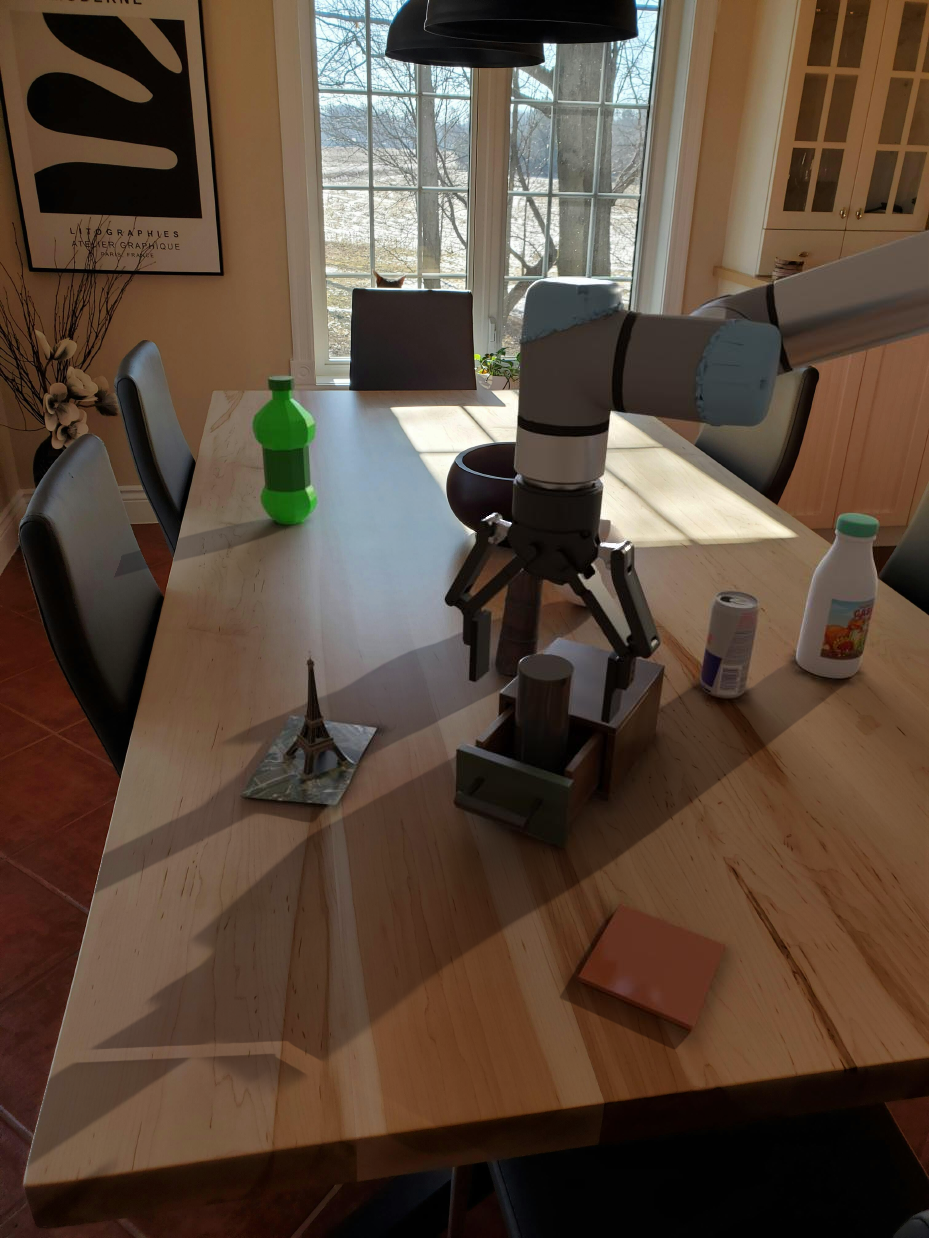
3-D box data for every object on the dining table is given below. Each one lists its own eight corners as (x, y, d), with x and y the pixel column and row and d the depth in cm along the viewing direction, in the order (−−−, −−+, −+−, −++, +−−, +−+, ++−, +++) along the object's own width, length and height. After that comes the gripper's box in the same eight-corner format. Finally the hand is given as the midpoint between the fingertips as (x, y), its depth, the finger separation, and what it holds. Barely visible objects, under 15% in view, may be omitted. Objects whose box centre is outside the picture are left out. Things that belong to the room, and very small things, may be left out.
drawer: (543, 875, 78) (548, 812, 75) (432, 831, 83) (432, 771, 80) (617, 772, 92) (623, 716, 89) (517, 740, 97) (520, 686, 94)
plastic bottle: (327, 512, 165) (320, 374, 154) (305, 532, 155) (296, 386, 145) (276, 507, 167) (266, 370, 156) (251, 526, 157) (238, 381, 147)
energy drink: (706, 673, 113) (720, 586, 108) (749, 684, 111) (765, 596, 106) (693, 691, 109) (707, 602, 104) (738, 704, 107) (754, 613, 101)
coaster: (725, 949, 72) (726, 944, 72) (692, 1031, 65) (692, 1026, 65) (619, 907, 76) (620, 903, 76) (577, 980, 69) (577, 975, 69)
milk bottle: (791, 671, 114) (821, 522, 105) (798, 646, 120) (827, 504, 112) (856, 685, 111) (892, 533, 102) (860, 659, 117) (895, 513, 109)
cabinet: (608, 801, 89) (616, 728, 85) (496, 763, 95) (499, 692, 91) (656, 732, 101) (665, 665, 97) (553, 701, 106) (558, 637, 102)
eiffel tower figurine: (289, 718, 102) (281, 612, 96) (377, 727, 100) (374, 620, 95) (240, 799, 88) (227, 681, 83) (340, 811, 87) (334, 692, 81)
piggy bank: (531, 591, 135) (536, 495, 128) (602, 582, 138) (610, 489, 132) (564, 626, 124) (572, 524, 118) (640, 616, 128) (652, 516, 121)
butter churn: (564, 688, 109) (582, 464, 97) (486, 690, 108) (494, 464, 96) (552, 652, 117) (567, 441, 105) (479, 653, 117) (486, 441, 104)
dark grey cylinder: (572, 776, 90) (583, 662, 84) (551, 804, 85) (560, 686, 80) (526, 760, 92) (532, 648, 86) (502, 787, 88) (508, 670, 82)
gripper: (719, 491, 73) (684, 714, 82) (452, 443, 83) (448, 645, 93) (691, 517, 67) (657, 754, 76) (408, 462, 77) (408, 676, 87)
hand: (542, 695), depth 84 cm, fingers open, 13 cm apart
